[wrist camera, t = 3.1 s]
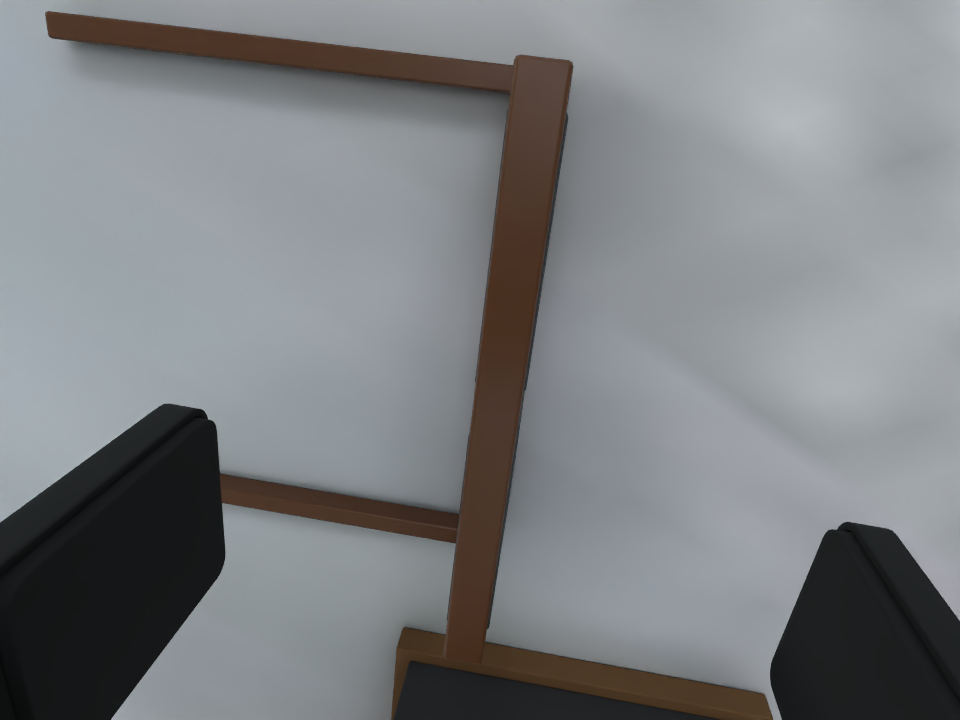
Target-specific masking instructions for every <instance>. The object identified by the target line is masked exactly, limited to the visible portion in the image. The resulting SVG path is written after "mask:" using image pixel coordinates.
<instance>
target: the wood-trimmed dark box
mask: <svg viewBox="0 0 960 720" xmlns="http://www.w3.org/2000/svg"><path fill="white" fill-rule="evenodd" d="M445 637H446V635H442V634H437V633H432V632H426V631H421V630H415V629H410V628H403V630H402V633H401V636H400V639H399V643H398V646H397V652H396V665H395V678H394V691H393V703H392V716H391V720H773V717H772V714H771V711H770V708H769V705H768V702H767V699H766V697H765V695H764V694H760V693H755V692H750V691H744V690H739V689H733V688H728V687H723V686H717V685H712V684H707V683H701V682H696V681H690V680H685V679H680V678H674V677H669V676H663V675H658V674H653V673H647V672H642V671H636V670H631V669H626V668H620V667H615V666H610V665H604V664H599V663H593V662H588V661H583V660H577V659H572V658H566V657H561V656H556V655H550V654H545V653H539V652H534V651H529V650H523V649H518V648H512V647H507V646H502V645H496V644H491V643H486V642H485V644H484V651H483V657H482V662H481V663H480V664H473V663H468V662H462V661H457V660H452V659H446V658H445V657H444V646H445Z"/></svg>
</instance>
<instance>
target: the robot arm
mask: <svg viewBox="0 0 960 720" xmlns="http://www.w3.org/2000/svg"><path fill="white" fill-rule="evenodd" d="M224 561H225V541H224V527H223V513H222V499H221V484H220V470H219V456H218V442H217V429H216V425H215V423H214V422H213V421H212V420H208V417H207V415H206V413H205V412H204V411H203V410H202V409H197V408H191V407H185V406H180V405H174V404H163V405H161V406H159V407H158V408H157V409H155V410H154V411H152V412H151V413H150V414H148V415H147V416H146V417H144V418H143V419H141V420H140V421H139V422H137V423H136V424H135V425H133V426H132V427H131V428H129V429H128V430H126V431H125V432H124V433H122V434H121V435H120V436H118V437H117V438H115V439H114V440H113V441H111V442H110V443H109V444H107V445H106V446H105V447H103V448H102V449H100V450H99V451H98V452H96V453H95V454H94V455H92V456H91V457H89V458H88V459H87V460H85V461H84V462H83V463H81V464H80V465H79V466H77V467H76V468H74V469H73V470H72V471H70V472H69V473H68V474H66V475H65V476H63V477H62V478H61V479H59V480H58V481H57V482H55V483H54V484H53V485H51V486H50V487H48V488H47V489H46V490H44V491H43V492H42V493H40V494H39V495H37V496H36V497H35V498H33V499H32V500H31V501H29V502H28V503H27V504H25V505H24V506H22V507H21V508H20V509H18V510H17V511H16V512H14V513H13V514H11V515H10V516H9V517H7V518H6V519H5V520H3V521H2V522H1V523H0V720H111V718H112V717H113V716H114V714H115V713H116V712H117V710H118V709H119V708H120V706H121V705H122V704H123V703H124V701H125V700H126V699H127V697H128V696H129V695H130V693H131V692H132V691H133V689H134V688H135V687H136V685H137V684H138V683H139V681H140V680H141V679H142V677H143V676H144V675H145V673H146V672H147V671H148V669H149V668H150V667H151V665H152V664H153V663H154V661H155V660H156V659H157V657H158V656H159V655H160V653H161V652H162V651H163V650H164V648H165V647H166V646H167V644H168V643H169V642H170V640H171V639H172V638H173V636H174V635H175V634H176V632H177V631H178V630H179V628H180V627H181V626H182V624H183V623H184V622H185V620H186V619H187V618H188V616H189V615H190V614H191V612H192V611H193V610H194V608H195V607H196V606H197V604H198V603H199V602H200V601H201V599H202V598H203V597H204V595H205V594H206V593H207V591H208V590H209V589H210V587H211V586H212V585H213V583H214V582H215V581H216V579H217V578H218V576H219V575H220V573H221V570H222V568H223V565H224ZM770 680H771V686H772V690H773V693H774V696H775V699H776V702H777V705H778V708H779V711H780V714H781V718H782V720H960V621H959V619H958V618H957V617H956V615H955V614H954V613H953V611H952V610H951V609H950V607H949V606H948V604H947V603H946V602H945V600H944V599H943V598H942V596H941V595H940V594H939V592H938V591H937V589H936V588H935V587H934V585H933V584H932V583H931V581H930V580H929V579H928V577H927V576H926V574H925V573H924V572H923V570H922V569H921V568H920V566H919V565H918V564H917V562H916V561H915V559H914V558H913V557H912V555H911V554H910V553H909V551H908V550H907V549H906V547H905V546H904V545H903V543H902V542H901V540H900V539H899V538H898V536H897V535H896V534H895V533H894V532H893V531H892V530H889V529H886V528H880V527H875V526H869V525H863V524H857V523H852V522H845V523H843V524H841V525H840V526H839V527H838V529H837V530H833V529H832V530H828V531H827V532H826V533H825V535H824V537H823V539H822V541H821V544H820V546H819V549H818V551H817V553H816V556H815V558H814V561H813V563H812V566H811V568H810V570H809V573H808V575H807V578H806V580H805V582H804V585H803V587H802V590H801V592H800V594H799V597H798V599H797V602H796V604H795V606H794V609H793V611H792V614H791V616H790V619H789V621H788V623H787V626H786V628H785V631H784V633H783V635H782V638H781V640H780V643H779V645H778V647H777V650H776V652H775V655H774V657H773V660H772V663H771V669H770Z"/></svg>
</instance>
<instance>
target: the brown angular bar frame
mask: <svg viewBox="0 0 960 720" xmlns="http://www.w3.org/2000/svg"><path fill="white" fill-rule="evenodd" d="M45 16H46V23H47V30H48V35H49V37H51V38H53V39H61V40H69V41H77V42H86V43H94V44H102V45H111V46H119V47H127V48H136V49H144V50H152V51H161V52H169V53H177V54H186V55H194V56H202V57H211V58H219V59H227V60H236V61H244V62H253V63H261V64H269V65H278V66H286V67H294V68H303V69H311V70H319V71H328V72H336V73H344V74H353V75H361V76H369V77H378V78H386V79H394V80H403V81H411V82H419V83H428V84H436V85H444V86H453V87H461V88H469V89H478V90H486V91H494V92H503V93H510V99H509V108H508V110H507V116H506V125H505V133H504V142H503V150H502V158H501V167H500V175H499V184H498V192H497V201H496V209H495V218H494V226H493V234H492V243H491V251H490V260H489V268H488V277H487V285H486V294H485V302H484V310H483V319H482V327H481V336H480V344H479V353H478V361H477V370H476V378H475V382H476V385H475V393H474V402H473V410H472V419H471V427H470V433H469V437H468V445H467V453H466V462H465V470H464V479H463V487H462V496H461V504H460V513H459V514H453V513H447V512H442V511H436V510H430V509H424V508H418V507H412V506H406V505H400V504H394V503H389V502H383V501H377V500H371V499H365V498H359V497H353V496H347V495H341V494H336V493H330V492H324V491H318V490H312V489H306V488H300V487H294V486H289V485H283V484H277V483H271V482H265V481H259V480H253V479H247V478H241V477H236V476H230V475H224V474H220V484H221V499H222V503H226V504H232V505H237V506H243V507H249V508H255V509H260V510H266V511H272V512H278V513H283V514H289V515H295V516H301V517H307V518H312V519H318V520H324V521H330V522H335V523H341V524H347V525H353V526H358V527H364V528H370V529H376V530H382V531H387V532H393V533H399V534H405V535H410V536H416V537H422V538H428V539H433V540H439V541H445V542H451V543H456V546H455V555H454V563H453V572H452V580H451V589H450V597H449V606H448V614H447V629H446V637H445V646H444V657H445V658H446V659H452V660H457V661H462V662H468V663H473V664H480V663H481V662H482V657H483V651H484V644H485V638H486V631H487V629H488V628H489V624H490V618H491V611H492V605H493V598H494V592H495V586H496V579H497V573H498V566H499V560H500V553H501V547H502V541H503V534H504V528H505V521H506V515H507V508H508V502H509V496H510V489H511V483H512V476H513V470H514V463H515V457H516V451H517V444H518V437H519V429H520V422H521V415H522V407H523V400H524V392H525V390H526V386H527V380H528V373H529V367H530V361H531V354H532V348H533V341H534V335H535V328H536V322H537V316H538V309H539V303H540V296H541V290H542V283H543V277H544V271H545V264H546V258H547V251H548V245H549V238H550V232H551V226H552V219H553V213H554V206H555V200H556V194H557V187H558V181H559V174H560V168H561V161H562V155H563V149H564V142H565V136H566V129H567V123H568V115H567V105H568V99H569V92H570V86H571V79H572V73H573V63H572V62H571V61H569V60H562V59H554V58H545V57H536V56H528V55H518V56H516V58H515V60H514V65H505V64H497V63H488V62H480V61H471V60H462V59H454V58H445V57H437V56H428V55H420V54H411V53H402V52H394V51H385V50H377V49H368V48H360V47H351V46H342V45H334V44H325V43H317V42H308V41H299V40H291V39H282V38H274V37H265V36H257V35H248V34H239V33H231V32H222V31H214V30H205V29H197V28H188V27H179V26H171V25H162V24H154V23H145V22H137V21H128V20H119V19H111V18H102V17H94V16H85V15H76V14H68V13H59V12H51V11H48V12H46V13H45Z"/></svg>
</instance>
